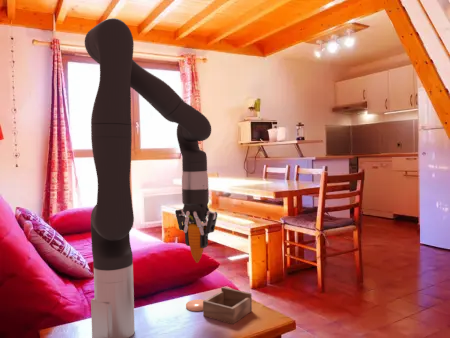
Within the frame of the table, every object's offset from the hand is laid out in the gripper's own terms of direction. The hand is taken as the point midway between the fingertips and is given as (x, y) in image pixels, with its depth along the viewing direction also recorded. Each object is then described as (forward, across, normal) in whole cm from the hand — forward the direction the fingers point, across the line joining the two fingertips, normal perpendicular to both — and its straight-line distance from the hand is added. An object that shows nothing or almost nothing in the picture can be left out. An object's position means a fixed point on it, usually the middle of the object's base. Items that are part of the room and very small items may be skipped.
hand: (196, 246), depth 108 cm
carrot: (+5, 0, 0) cm, 5 cm away
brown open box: (+18, +10, +1) cm, 20 cm away
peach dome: (+18, 0, 0) cm, 18 cm away
